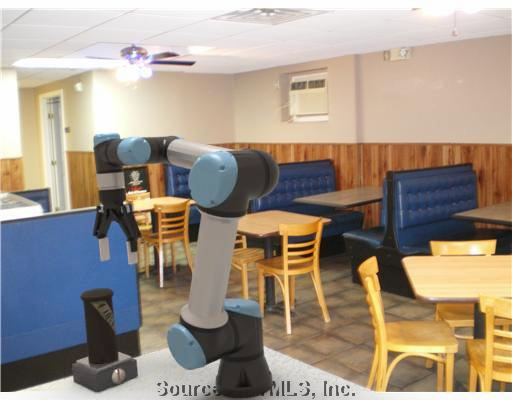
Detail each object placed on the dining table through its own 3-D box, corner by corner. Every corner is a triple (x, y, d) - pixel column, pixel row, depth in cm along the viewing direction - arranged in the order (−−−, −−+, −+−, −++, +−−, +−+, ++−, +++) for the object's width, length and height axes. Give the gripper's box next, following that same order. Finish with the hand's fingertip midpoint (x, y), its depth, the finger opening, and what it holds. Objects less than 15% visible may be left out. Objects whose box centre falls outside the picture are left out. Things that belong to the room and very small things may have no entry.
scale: (139, 377, 158) (137, 356, 158) (99, 393, 149) (96, 372, 148) (113, 366, 168) (111, 347, 167) (73, 381, 159) (71, 361, 158)
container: (111, 364, 153) (104, 293, 151) (81, 364, 155) (74, 294, 153) (124, 353, 161) (118, 285, 160) (95, 352, 163) (89, 286, 161)
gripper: (149, 186, 152) (156, 262, 154) (98, 187, 169) (105, 256, 170) (126, 188, 146) (134, 268, 148) (76, 190, 163) (83, 261, 165)
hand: (119, 262), depth 159 cm, fingers open, 13 cm apart
